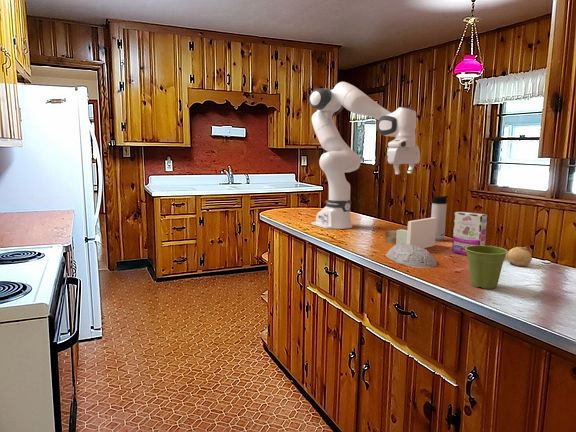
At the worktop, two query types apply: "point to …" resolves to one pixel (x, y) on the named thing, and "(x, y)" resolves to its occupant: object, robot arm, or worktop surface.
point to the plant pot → (485, 265)
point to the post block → (418, 233)
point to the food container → (411, 256)
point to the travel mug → (439, 216)
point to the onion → (519, 256)
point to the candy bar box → (468, 231)
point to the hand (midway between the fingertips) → (403, 174)
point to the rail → (390, 236)
